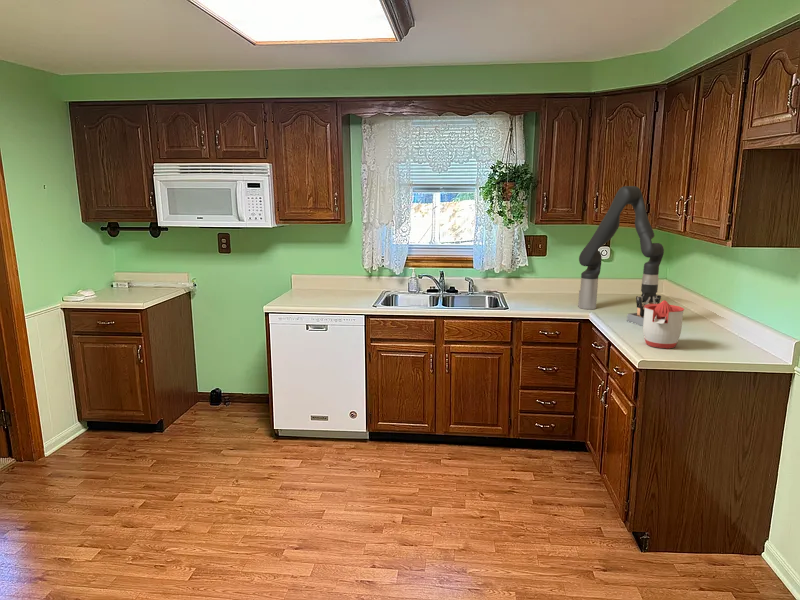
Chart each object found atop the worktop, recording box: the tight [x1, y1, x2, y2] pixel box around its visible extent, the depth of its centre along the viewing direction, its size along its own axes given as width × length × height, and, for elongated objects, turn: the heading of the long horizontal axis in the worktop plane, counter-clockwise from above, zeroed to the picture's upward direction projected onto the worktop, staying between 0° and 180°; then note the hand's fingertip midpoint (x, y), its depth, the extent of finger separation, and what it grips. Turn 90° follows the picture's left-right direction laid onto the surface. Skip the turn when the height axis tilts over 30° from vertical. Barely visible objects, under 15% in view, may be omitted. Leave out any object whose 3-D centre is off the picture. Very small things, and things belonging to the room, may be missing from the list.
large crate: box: [626, 312, 644, 327], centre depth 284 cm, size 12×14×4 cm
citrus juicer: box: [642, 299, 685, 350], centre depth 241 cm, size 16×17×20 cm
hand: (646, 315), depth 284 cm, fingers closed on small crate, 5 cm apart
